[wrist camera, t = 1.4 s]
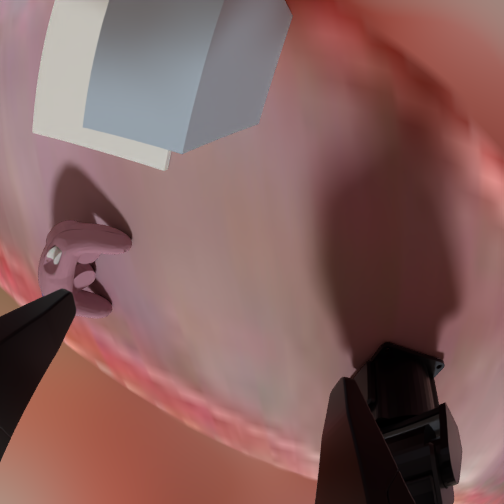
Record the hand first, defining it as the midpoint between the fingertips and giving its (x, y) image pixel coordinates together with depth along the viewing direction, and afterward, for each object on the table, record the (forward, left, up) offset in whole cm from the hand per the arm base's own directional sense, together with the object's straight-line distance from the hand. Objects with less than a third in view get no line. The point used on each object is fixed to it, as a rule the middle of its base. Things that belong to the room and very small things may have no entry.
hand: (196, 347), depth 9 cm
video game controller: (+13, +10, -12) cm, 20 cm away
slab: (+4, -8, -12) cm, 15 cm away
